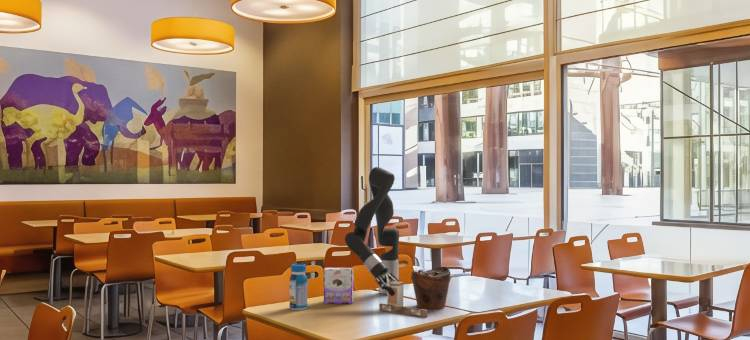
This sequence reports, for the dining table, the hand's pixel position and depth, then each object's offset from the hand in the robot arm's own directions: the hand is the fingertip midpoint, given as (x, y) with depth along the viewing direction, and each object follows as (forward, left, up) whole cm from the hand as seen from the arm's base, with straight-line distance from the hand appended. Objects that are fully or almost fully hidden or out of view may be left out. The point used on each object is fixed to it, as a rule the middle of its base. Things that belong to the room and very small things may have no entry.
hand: (398, 293), depth 293 cm
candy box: (-31, -3, -7) cm, 32 cm away
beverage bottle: (-38, -24, -7) cm, 46 cm away
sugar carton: (-1, 0, -7) cm, 7 cm away
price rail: (+7, -7, -7) cm, 12 cm away
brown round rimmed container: (+9, +14, -7) cm, 18 cm away
